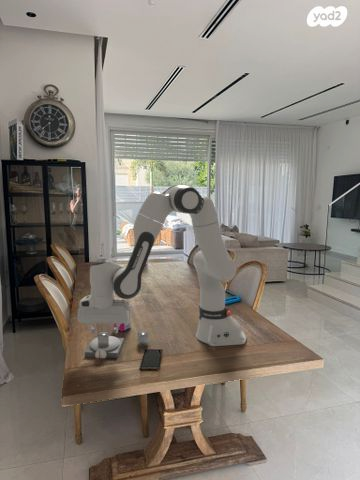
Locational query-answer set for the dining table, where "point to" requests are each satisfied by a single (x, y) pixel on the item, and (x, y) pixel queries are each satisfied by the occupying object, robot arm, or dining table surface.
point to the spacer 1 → (103, 339)
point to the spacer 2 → (143, 339)
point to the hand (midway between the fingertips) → (104, 332)
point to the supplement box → (124, 324)
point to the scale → (110, 351)
